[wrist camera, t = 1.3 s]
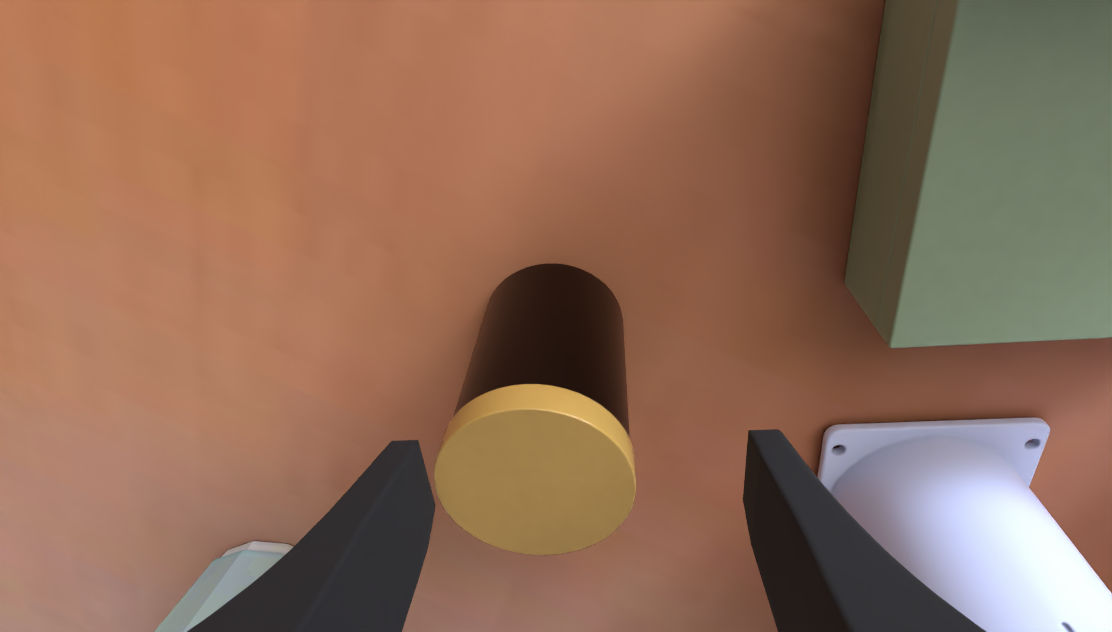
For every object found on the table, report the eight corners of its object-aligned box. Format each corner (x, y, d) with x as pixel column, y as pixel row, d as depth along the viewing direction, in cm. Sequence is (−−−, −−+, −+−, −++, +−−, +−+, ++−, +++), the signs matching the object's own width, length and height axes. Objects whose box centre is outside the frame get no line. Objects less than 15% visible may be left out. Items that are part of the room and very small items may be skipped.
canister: (628, 379, 24) (639, 554, 17) (494, 384, 25) (453, 557, 18) (622, 255, 22) (632, 403, 15) (471, 265, 22) (413, 412, 15)
